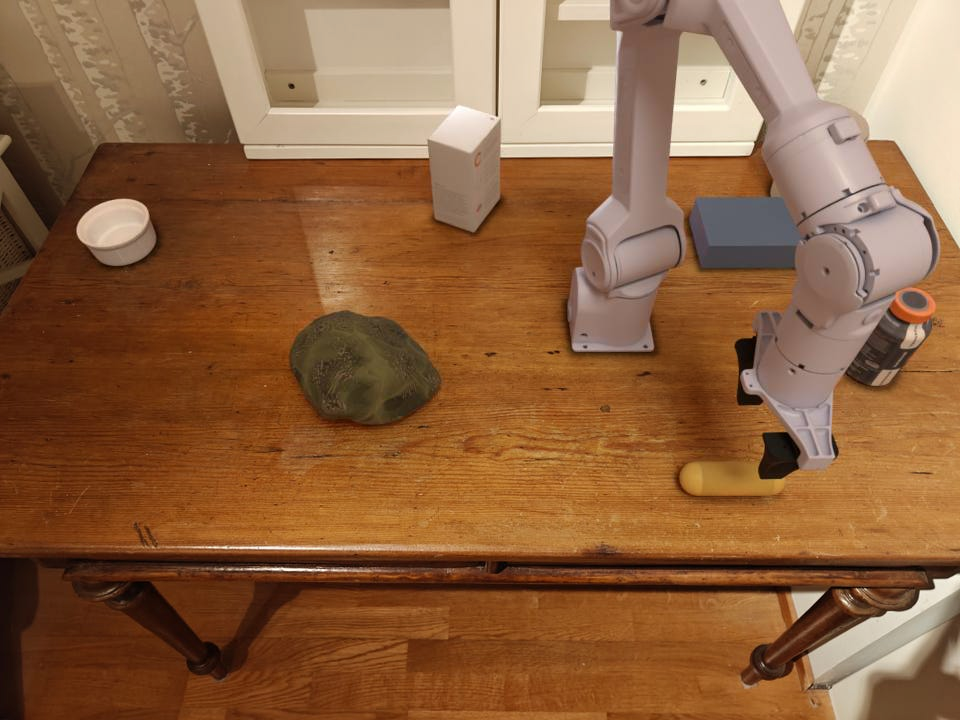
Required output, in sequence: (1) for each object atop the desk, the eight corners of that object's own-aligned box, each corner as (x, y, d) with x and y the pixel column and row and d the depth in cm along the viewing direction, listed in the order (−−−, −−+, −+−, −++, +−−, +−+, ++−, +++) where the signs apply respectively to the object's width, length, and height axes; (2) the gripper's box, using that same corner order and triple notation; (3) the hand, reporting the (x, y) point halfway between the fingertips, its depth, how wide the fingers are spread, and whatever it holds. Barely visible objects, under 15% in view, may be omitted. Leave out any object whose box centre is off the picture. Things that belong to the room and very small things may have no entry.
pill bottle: (898, 391, 78) (952, 327, 69) (842, 383, 78) (889, 318, 69) (890, 349, 81) (941, 283, 72) (837, 342, 82) (881, 274, 73)
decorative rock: (407, 324, 86) (405, 261, 79) (450, 421, 76) (453, 360, 69) (285, 351, 82) (271, 287, 74) (313, 458, 72) (301, 396, 65)
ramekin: (143, 274, 89) (129, 249, 86) (78, 266, 90) (62, 241, 87) (172, 226, 95) (160, 201, 91) (110, 220, 95) (96, 195, 92)
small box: (461, 185, 99) (457, 103, 89) (501, 198, 97) (502, 116, 87) (432, 219, 95) (425, 138, 84) (474, 234, 93) (472, 153, 83)
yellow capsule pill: (679, 501, 70) (687, 486, 67) (673, 471, 72) (680, 455, 69) (783, 501, 70) (795, 486, 67) (774, 471, 72) (786, 455, 69)
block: (701, 268, 89) (709, 245, 86) (688, 220, 94) (695, 197, 91) (811, 268, 89) (823, 245, 86) (792, 219, 94) (803, 196, 91)
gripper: (737, 275, 57) (698, 374, 68) (788, 427, 48) (734, 512, 59) (823, 273, 57) (770, 372, 68) (890, 425, 48) (817, 510, 59)
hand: (758, 437), depth 63 cm, fingers open, 7 cm apart
